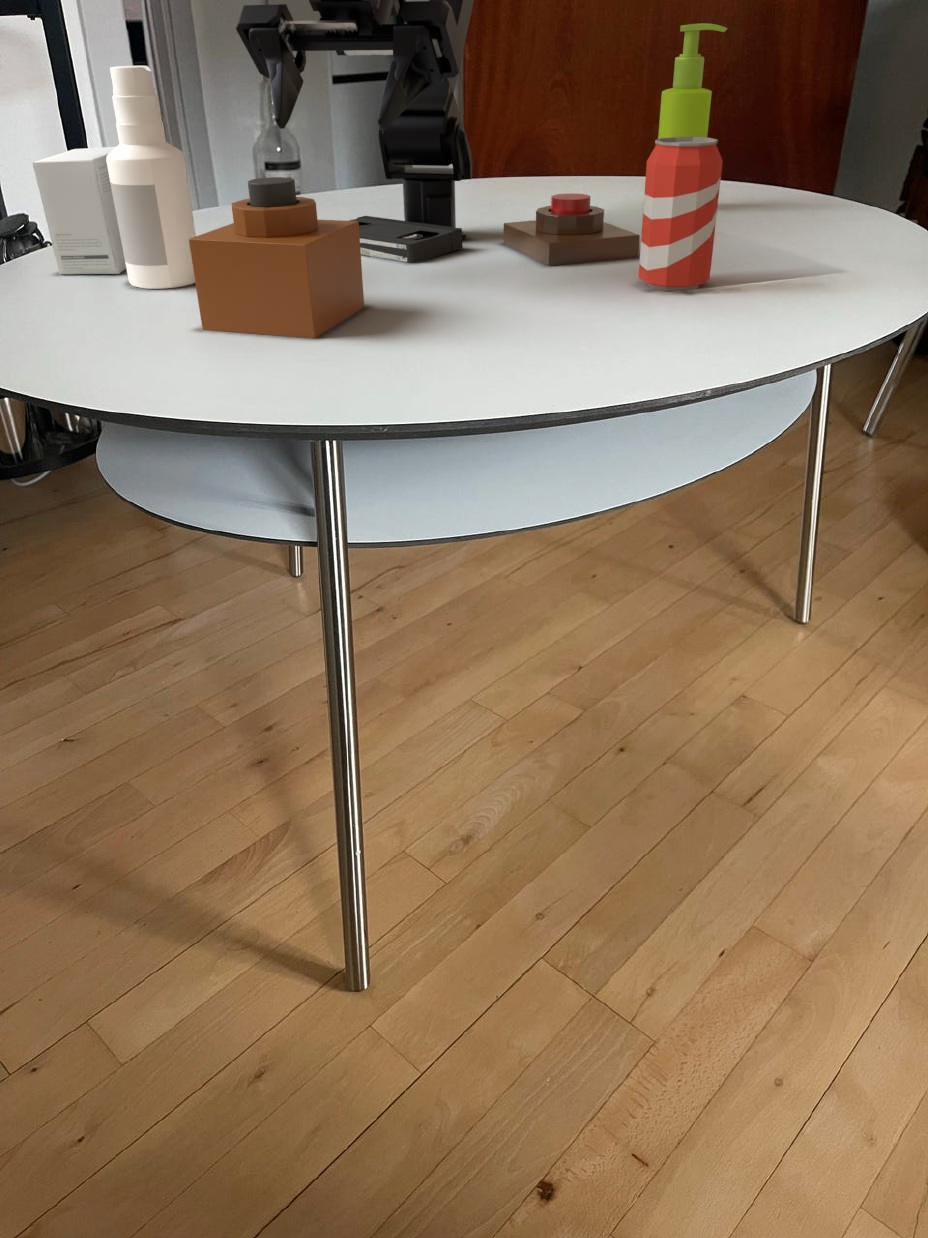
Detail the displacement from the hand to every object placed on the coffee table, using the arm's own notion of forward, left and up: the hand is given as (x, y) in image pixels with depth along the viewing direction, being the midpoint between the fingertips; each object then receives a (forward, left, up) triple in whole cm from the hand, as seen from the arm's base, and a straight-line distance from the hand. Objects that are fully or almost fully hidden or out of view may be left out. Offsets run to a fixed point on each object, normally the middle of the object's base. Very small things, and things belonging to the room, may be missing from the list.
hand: (329, 125), depth 83 cm
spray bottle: (-11, -15, -14) cm, 23 cm away
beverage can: (+10, +28, -14) cm, 33 cm away
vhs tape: (-17, +9, -14) cm, 24 cm away
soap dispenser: (-26, +50, -14) cm, 58 cm away
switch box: (-8, +26, -14) cm, 31 cm away
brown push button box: (+7, -7, -14) cm, 17 cm away
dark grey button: (+7, -7, -5) cm, 11 cm away
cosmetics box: (-22, -20, -14) cm, 33 cm away
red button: (-8, +26, -10) cm, 29 cm away
